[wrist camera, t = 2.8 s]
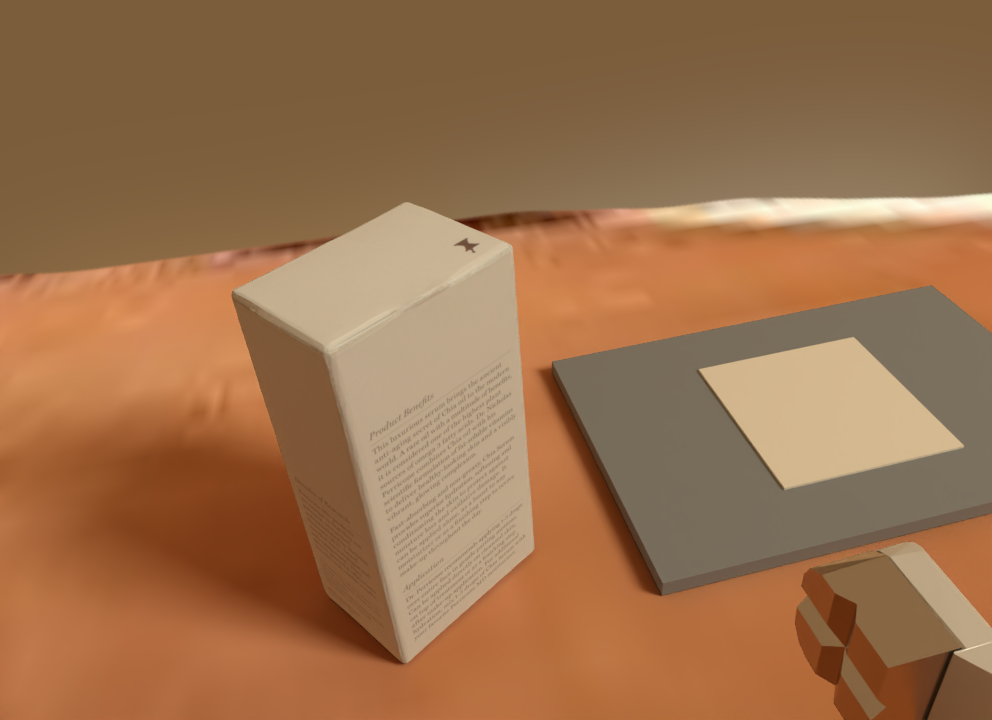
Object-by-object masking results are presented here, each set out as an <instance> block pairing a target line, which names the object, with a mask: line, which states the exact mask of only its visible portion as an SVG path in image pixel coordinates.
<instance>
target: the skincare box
mask: <svg viewBox="0 0 992 720" xmlns="http://www.w3.org/2000/svg"><path fill="white" fill-rule="evenodd" d="M232 299H233V303H234V306H235V309H236V312H237V315H238V319H239V322H240V325H241V328H242V331H243V334H244V338H245V341H246V344H247V347H248V350H249V353H250V356H251V360H252V363H253V366H254V369H255V372H256V375H257V378H258V382H259V385H260V389H261V391H262V394H263V397H264V401H265V404H266V407H267V410H268V413H269V416H270V419H271V422H272V425H273V428H274V431H275V434H276V438H277V441H278V444H279V447H280V451H281V454H282V457H283V460H284V463H285V467H286V470H287V473H288V476H289V479H290V482H291V486H292V489H293V492H294V495H295V498H296V501H297V505H298V508H299V511H300V514H301V517H302V520H303V524H304V527H305V529H306V533H307V536H308V539H309V542H310V546H311V549H312V552H313V555H314V558H315V561H316V565H317V568H318V571H319V574H320V578H321V581H322V584H323V587H324V590H325V592H326V593H327V595H328V596H329V597H330V598H331V599H332V600H333V601H334V602H335V603H337V604H338V605H339V606H340V607H341V608H342V609H344V610H345V611H346V612H347V613H348V614H349V615H350V616H351V617H352V618H354V619H355V620H356V621H357V622H358V623H359V624H360V625H361V626H362V627H364V628H365V629H366V630H367V631H368V632H369V633H370V634H371V635H372V636H373V637H374V638H375V639H376V640H377V641H379V642H380V643H381V644H382V645H383V646H384V647H385V648H386V649H387V650H388V651H389V652H390V653H391V654H393V655H394V656H395V657H396V658H397V659H398V660H399V661H400V662H402V663H404V664H406V663H408V662H409V661H410V660H411V659H413V658H414V657H415V656H416V655H417V654H418V653H419V652H420V651H421V650H422V649H424V648H425V647H426V646H427V645H428V644H429V643H430V642H431V641H432V640H434V639H435V638H436V637H437V636H438V635H439V634H440V633H441V632H442V631H444V630H445V629H446V628H447V627H448V626H449V625H450V624H451V623H453V622H454V621H455V620H456V619H457V618H458V617H459V616H460V615H461V614H463V613H464V612H465V611H466V610H467V609H468V608H469V607H470V606H472V605H473V604H474V603H475V602H476V601H477V600H478V599H479V598H481V597H482V596H483V595H484V594H485V593H486V592H487V591H488V590H490V589H491V588H492V587H493V586H494V585H495V584H496V583H497V582H499V581H500V580H501V579H502V578H503V577H504V576H505V575H506V574H508V573H509V572H510V571H511V570H512V569H513V568H514V567H515V566H516V565H518V564H519V563H520V562H521V561H522V560H523V559H524V558H526V557H527V556H528V555H529V554H530V553H531V552H532V551H533V550H534V538H533V520H532V508H531V493H530V481H529V468H528V454H527V438H526V425H525V412H524V398H523V383H522V370H521V357H520V342H519V330H518V315H517V300H516V287H515V270H514V258H513V248H512V246H511V245H510V244H508V243H506V242H504V241H502V240H499V239H497V238H494V237H492V236H489V235H487V234H485V233H482V232H480V231H477V230H475V229H472V228H470V227H468V226H465V225H463V224H461V223H458V222H456V221H454V220H452V219H449V218H447V217H444V216H442V215H440V214H437V213H435V212H433V211H430V210H428V209H425V208H423V207H420V206H417V205H414V204H411V203H407V202H406V203H402V204H401V205H399V206H397V207H395V208H393V209H391V210H389V211H388V212H386V213H384V214H382V215H380V216H378V217H377V218H375V219H373V220H371V221H369V222H367V223H365V224H363V225H361V226H360V227H357V228H355V229H353V230H352V231H350V232H348V233H346V234H344V235H342V236H340V237H338V238H336V239H334V240H332V241H330V242H327V243H325V244H323V245H321V246H319V247H317V248H315V249H313V250H311V251H309V252H308V253H306V254H304V255H302V256H300V257H298V258H296V259H294V260H292V261H290V262H288V263H286V264H284V265H282V266H280V267H278V268H276V269H274V270H272V271H270V272H268V273H266V274H264V275H262V276H260V277H258V278H256V279H254V280H252V281H250V282H248V283H247V284H244V285H242V286H240V287H238V288H236V289H234V290H233V291H232Z"/></svg>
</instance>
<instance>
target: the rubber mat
mask: <svg viewBox="0 0 992 720" xmlns="http://www.w3.org/2000/svg"><path fill="white" fill-rule="evenodd" d="M552 373H553V375H554V377H555V379H556V381H557V383H558V385H559V387H560V389H561V391H562V394H563V396H564V398H565V400H566V402H567V404H568V406H569V408H570V410H571V412H572V414H573V416H574V418H575V420H576V422H577V424H578V426H579V428H580V430H581V432H582V434H583V436H584V438H585V440H586V442H587V444H588V446H589V448H590V450H591V452H592V455H593V457H594V459H595V461H596V463H597V465H598V467H599V469H600V471H601V473H602V475H603V477H604V479H605V481H606V483H607V485H608V487H609V489H610V491H611V493H612V495H613V497H614V499H615V501H616V503H617V505H618V507H619V509H620V511H621V514H622V516H623V518H624V520H625V522H626V524H627V526H628V528H629V530H630V532H631V534H632V536H633V538H634V540H635V542H636V544H637V546H638V548H639V550H640V552H641V554H642V556H643V558H644V560H645V562H646V564H647V566H648V568H649V570H650V572H651V575H652V577H653V579H654V581H655V583H656V585H657V587H658V589H659V591H660V593H661V595H666V594H670V593H674V592H678V591H682V590H686V589H690V588H694V587H698V586H702V585H706V584H710V583H714V582H718V581H722V580H726V579H730V578H734V577H738V576H742V575H746V574H750V573H754V572H758V571H762V570H766V569H770V568H774V567H778V566H782V565H786V564H790V563H794V562H798V561H802V560H806V559H810V558H814V557H818V556H822V555H826V554H830V553H834V552H838V551H842V550H846V549H850V548H854V547H858V546H862V545H866V544H870V543H874V542H878V541H882V540H886V539H890V538H894V537H898V536H902V535H906V534H910V533H914V532H918V531H922V530H926V529H930V528H934V527H938V526H942V525H946V524H950V523H954V522H958V521H962V520H966V519H970V518H974V517H978V516H982V515H986V514H990V513H992V333H991V332H989V331H988V330H987V329H986V328H984V327H983V326H982V325H981V324H979V323H978V322H977V321H976V320H974V319H973V318H972V317H971V316H969V315H968V314H967V313H966V312H964V311H963V310H962V309H961V308H959V307H958V306H957V305H956V304H954V303H953V302H952V301H951V300H949V299H948V298H947V297H946V296H944V295H943V294H942V293H941V292H939V291H938V290H937V289H936V288H935V287H933V286H932V285H931V286H926V287H921V288H916V289H911V290H906V291H901V292H896V293H891V294H886V295H881V296H876V297H871V298H866V299H861V300H856V301H851V302H846V303H841V304H836V305H831V306H826V307H821V308H817V309H812V310H807V311H802V312H797V313H792V314H787V315H782V316H777V317H772V318H767V319H762V320H757V321H752V322H747V323H742V324H737V325H732V326H727V327H722V328H717V329H712V330H707V331H702V332H697V333H692V334H687V335H682V336H677V337H672V338H668V339H663V340H658V341H653V342H648V343H643V344H638V345H633V346H628V347H623V348H618V349H613V350H608V351H603V352H598V353H593V354H588V355H583V356H578V357H573V358H568V359H563V360H558V361H553V362H552Z"/></svg>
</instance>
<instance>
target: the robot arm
mask: <svg viewBox="0 0 992 720" xmlns="http://www.w3.org/2000/svg"><path fill="white" fill-rule="evenodd" d="M801 586H802V588H803V589H804V591H805V592H806V594H807V595H808V596H807V597H806V598H805V599H804V600H803V601H802V602H801V603H800V604H799V605H798V606H797V611H796V618H795V626H796V631H797V636H798V641H799V644H800V646H801V648H802V650H803V653H804V655H805V657H806V659H807V661H808V662H809V664H810V666H811V667H812V669H813V671H814V672H815V674H817V675H818V676H820V677H822V678H823V679H825V680H827V681H829V682H830V683H832V684H834V685H835V692H834V705H835V706H836V708H837V709H838V711H839V712H840V714H841V716H842V717H843V719H844V720H992V628H991V626H990V625H989V624H988V623H987V622H986V621H985V620H984V618H983V617H982V616H981V615H980V614H979V613H978V611H977V610H976V609H975V608H974V607H973V606H972V605H971V603H970V602H969V601H968V600H967V599H966V598H965V596H964V595H963V594H962V593H961V592H960V591H959V589H958V588H957V587H956V586H955V585H954V584H953V583H952V581H951V580H950V579H949V578H948V577H947V576H946V574H945V573H944V572H943V571H942V570H941V569H940V568H939V566H938V565H937V564H936V563H935V562H934V561H933V559H932V558H931V557H930V556H929V555H928V554H927V553H926V551H925V550H924V549H923V548H922V547H921V546H919V545H917V544H916V543H914V542H904V543H901V544H897V545H894V546H890V547H886V548H883V549H879V550H876V551H873V550H872V551H869V552H865V553H862V554H858V555H855V556H851V557H848V558H844V559H841V560H838V561H834V562H831V563H827V564H824V565H820V566H817V567H813V568H810V569H809V570H808V571H807V572H806V573H804V576H803V581H802V585H801Z"/></svg>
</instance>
